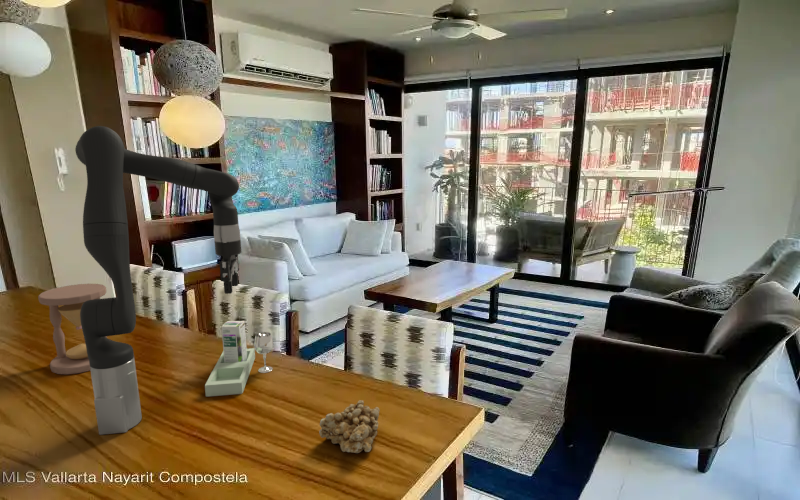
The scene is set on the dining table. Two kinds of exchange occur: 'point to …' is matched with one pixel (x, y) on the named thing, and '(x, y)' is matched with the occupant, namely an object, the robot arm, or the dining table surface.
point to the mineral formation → (351, 427)
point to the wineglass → (264, 348)
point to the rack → (229, 376)
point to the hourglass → (72, 303)
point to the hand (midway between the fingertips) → (231, 289)
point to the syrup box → (234, 341)
